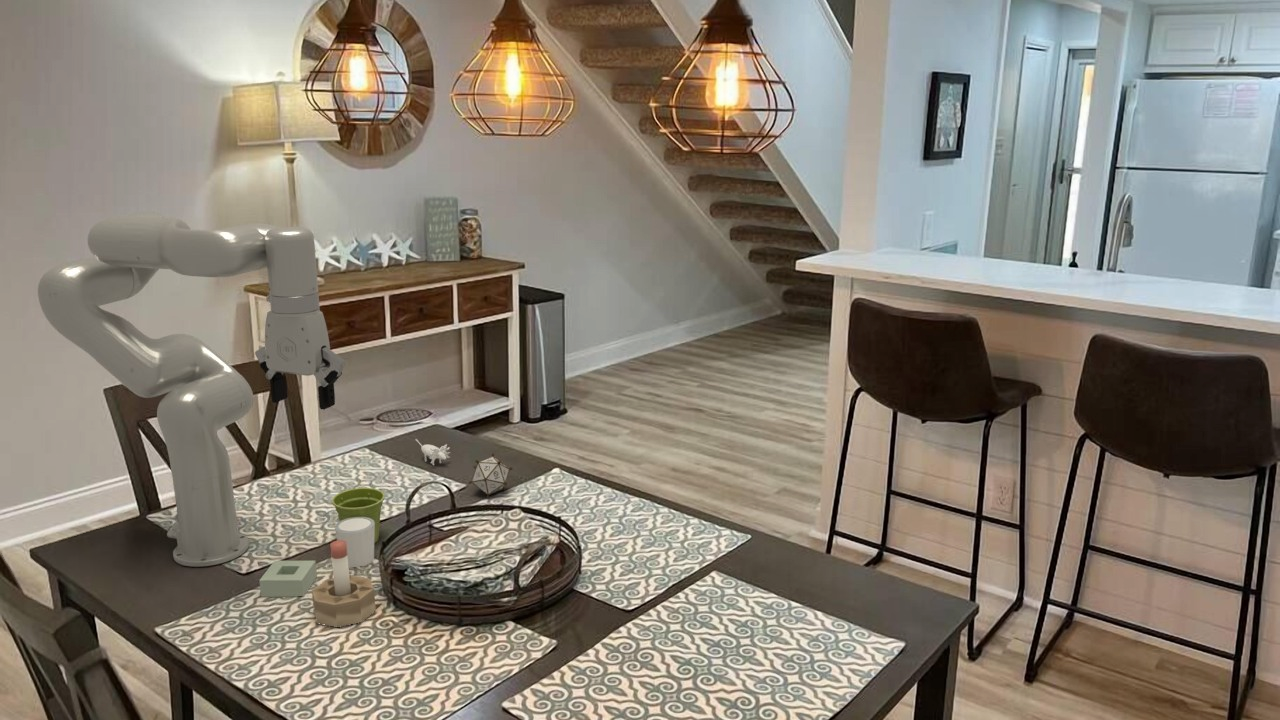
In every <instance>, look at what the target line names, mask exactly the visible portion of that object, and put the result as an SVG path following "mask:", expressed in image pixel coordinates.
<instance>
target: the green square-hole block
mask: <svg viewBox="0 0 1280 720" xmlns="http://www.w3.org/2000/svg"><path fill="white" fill-rule="evenodd" d="M316 563H317V561H316V560H274V561H273V562H272V564H271V565H270V566H269V567H268V569H267V570H266V571H265V573H264V574H263V575H262V577H261V578H260V579H259V581H258V582H259V589H260V597H261V598H282V597H283V598H284V597H285V598H296V597H297V596H304V597H305V596H306V594H307V592H308V591H309V589H310V588H311V586H312V585H313V583H314V582H315V580H316V579H317V577H318V572H317V570H318V569H317V564H316ZM307 590H308V591H307ZM305 593H306V594H305ZM297 598H298V597H297Z"/></svg>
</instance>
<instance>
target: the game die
mask: <svg viewBox="0 0 1280 720" xmlns="http://www.w3.org/2000/svg"><path fill="white" fill-rule="evenodd" d="M475 463H476V465H473V469H475V470H474V472H473V476H472V479H471V480H469V481H468V482H467V484H469V485H471V484H473V485H474V486H476V487H477V488H479V490H481V491H482V492H483V493H485V494H486V498H487V500H488V499H489V498H490V495H492V494H494V493H496V492H498V491H500V490H502V491H503V492H506V488H505V486H509V484H508V482H507V479H508V476H509V472H510V471H511V470H513V469H514V467H508V466H507V465H505V464H504V463H503V462H502V461H501V460H500V459H497V458H496V456H495V453H494V452H492V453H491V456H490V457H488V458H485V459H482V460H480V461H479V460H478V459H475Z"/></svg>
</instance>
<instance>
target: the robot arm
mask: <svg viewBox="0 0 1280 720" xmlns="http://www.w3.org/2000/svg"><path fill="white" fill-rule="evenodd" d="M87 246H88V249H89V251H90V253H91V255H93V256H91V257H87V258H82V259H76V260H71V261H68V262H64V263H63V262H62V263H61V264H59V265H56V266H54V267H52V268H50V269H49V270H48V271H46V272H45V273H44V274H42V276H41V278H40V279H39V281H38V284H37V285H38V286H37V297H38V302H39V306H40V308H41V310H42V313H43V315H44V317H45V318H46V320H47V321H48V323H49V324H50V325H51V327H52V328H54V329H55V330H56V331H57V332H58V333H59V334H60V335H61V336H62V337H64V338H65V339H67V340H68V341H69V342H71V343H73V345H75V346H77V347H79V348H80V349H81V350H83V351H84V352H86V354H88V355H89V356H90V357H91V358H93V359H94V360H95V361H96V362H97V363H98V364H99V365H100V366H101V367H102V368H104V369H105V370H106V371H107V372H109V374H110V375H111V376H113V377H114V378H115V379H117V380H118V381H119V382H120V383H121V384H122V385H123V386H124V387H125V388H127V389H128V390H129V391H131V392H132V393H134V394H135V395H136V396H138V397H141V398H147V399H148V398H149V399H150V398H155V397H158V396H161V395H164V396H163V397H162V399H161V400H160V401H159V403H158V406H157V411H156V418H157V422H158V426H159V428H160V431H161V434H162V437H163V440H164V443H165V445H166V448H167V449H166V450H167V453H168V458H169V463H170V464H169V465H170V470H171V476H172V485H173V491H174V492H173V493H174V498H175V507H176V513H177V521H175V522H174V523H172V525H171V529H169V530H168V531H167V533H166V536H167V537H168V538H169V539H176V542H177V545H176V546H175V548H174V549H173V550H172V556H173V560H174V561H175V562H176V563H177V564H178V565H181V566H186V567H194V568H198V567H199V568H200V567H210V566H216V565H220V564H223V563H226V562H227V563H228V562H229V561H232V560H235V559H237V558H238V557H241V556H242V555H243V554H244V553H245V552H246V551H247V550H248V549H249V546H250V541H249V536H247V535H246V534H243V533H242V532H239V527H238V526H239V525H238V520H237V510H236V502H235V501H236V500H235V495H234V494H235V493H234V486H233V480H232V479H233V477H232V469H231V461H230V456H229V452H228V450H227V448H226V446H225V444H224V443H223V442H222V440H221V439H220V438H219V436H218V431H220V430H221V429H224V428H225V427H227V426H229V425H231V424H233V423H235V422H237V421H239V420H241V419H243V418H244V417H245V416H247V415H248V414H249V412H250V411H251V410H252V408H253V405H254V394H253V393H254V392H253V390H252V388H251V386H250V384H249V383H248V381H247V380H246V378H245V377H244V376H243V375H242V374H240V372H238V371H237V369H235V368H234V367H233V366H232V365H231V364H229V362H227V361H226V360H225V359H223V358H222V357H221V356H220V355H219V354H218V353H216V352H215V351H214V350H213V349H212V348H211V347H210V346H209V345H207V344H206V343H205V342H203V341H202V340H200V338H197V337H194V336H192V335H190V334H186V333H174V334H170V335H166V336H162V337H159V338H151V337H149V336H148V335H146V334H144V333H143V332H142V331H140V330H139V329H138V328H137V327H136V326H135V325H134V324H133V323H131V322H130V321H129V320H127V319H125V318H124V317H122V316H120V315H117V314H115V313H112V312H111V311H108V310H105V309H103V308H101V306H105V305H109V304H112V303H115V302H120V301H124V300H127V299H128V300H129V299H130V298H132V297H134V296H135V295H137V294H139V293H140V292H141V291H142V290H143V289H144V288H145V287H146V285H147V284H148V283H149V282H150V281H151V279H152V278H153V277H154V276H155V274H157V272H158V271H159V270H171V271H173V273H176V274H179V275H183V276H188V277H202V278H230V277H235V276H238V275H243V274H247V273H251V272H254V271H258V270H264V269H267V270H266V271H267V281H268V290H269V292H268V293H269V294H267V295H266V302H268V303H269V304H270V311H269V310H268V311H267V312H266V317H265V325H264V326H265V327H264V346H263V347H262V348H259V349H257V350H256V351H254V355H255V357H256V359H257V362H258V363H259V367H260V368H261V370H263V372H264V373H265V377H266V379H267V380H269V384H270V395H271V396H270V397H271V403H274V404H276V403H279V402H282V401H284V400H286V399H288V398H289V394H288V388H287V387H288V384H287V376H286V375H284V374H290V375H299V376H307V377H309V376H314V377H315V379H316V380H317V381H318V383H319V384H320V385H319V386H318V387H317V393H318V403H319V409H320V410H326V409H328V408H331V407H333V406H335V405H336V401H335V400H336V396H335V395H336V394H335V383H337V381H338V379H339V378H340V377H341V376H342V374H343V370H344V368H345V365H346V360H345V359H344V358H342V357H341V356H340V355H338V354H337V353H335V352H333V350H331V346H330V344H331V343H330V339H329V332H328V326H327V323H326V320H325V316H324V313H323V311H322V310H320V298H319V297H320V296H319V284H318V270H317V259H316V247H315V246H316V245H315V237H314V233H313V232H312V230H310V229H309V228H307V227H301V226H279V225H274V224H270V223H265V222H254V223H247V224H240V225H236V226H235V225H234V226H229V227H225V228H224V227H223V228H218V229H191V227H190V226H189V225H188V223H186V222H185V221H183V220H181V219H180V218H174V217H173V218H172V217H165V216H163V215H161V214H159V213H155V212H153V211H141V212H134V213H128V214H127V213H126V214H120V215H114V216H108V217H106V218H103V219H101V220H98V221H97V222H96V223H95V224H94V225H93V226H92V227H91V229H90V230H89V232H88V236H87ZM331 365H332V367H331Z"/></svg>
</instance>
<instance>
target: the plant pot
mask: <svg viewBox="0 0 1280 720" xmlns="http://www.w3.org/2000/svg"><path fill="white" fill-rule="evenodd" d="M385 495H386V494H385V492H384V491H383V490H380V489H378V488H373V487H357V488H351V489H346V490H344V491H341V492H339V493H337V494H336V495H334V496H333V497H332V499H331V504H332V505H333V506H334V508H335V511H336V512H337V514H338V519H339V522H340V521H341V520H344V519H347V518H352V517H367V518H371V519H372V520H374V522H375V536H374V544H376V543H377V542H378V540H379V538H380V526H381V525H380V524H381V511H382V506H383V504H384V503H383V501H384V500H385V498H386V496H385Z"/></svg>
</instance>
